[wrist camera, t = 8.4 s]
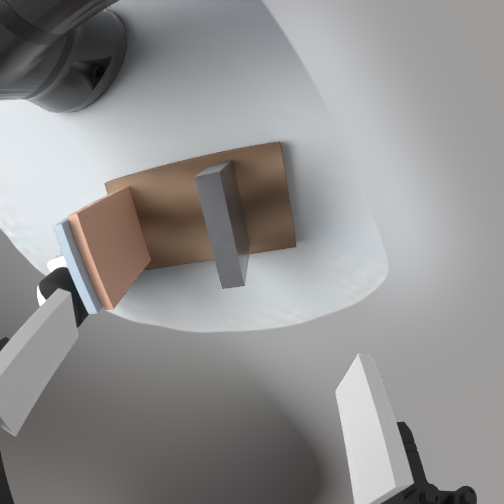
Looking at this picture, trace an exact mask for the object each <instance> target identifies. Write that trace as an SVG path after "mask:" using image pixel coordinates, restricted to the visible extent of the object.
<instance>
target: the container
mask: <svg viewBox="0 0 504 504" xmlns="http://www.w3.org/2000/svg"><path fill="white" fill-rule="evenodd" d="M47 265H48V268H49V270H50V272H51V273H50V274H49V275H48V276H46V277H45V278H44V279H43V280H42V281H41V282H40V283H39V285H38V289H37V296H38V301H39V304H40V306H41V305H42V304H43V303H44V302H45V301H46V300H47V299H48V298H49V297H50V296H51V295H52V294H53V293H54V292H55V291H56V290H57V289H58V288H59V289H62V290H65V291H68V292H71V297H72V303H73V309H74V315H75V321H76V326H77V328H78V327H79V326H80V325H81V323H82V322H83V321H84V319H85V318H86V317H87V316H88V315H89V314H88V312H87V310H86V308H85V305H84V303H83V301H82V299H81V297H80V295H79V293H78V290H77V288H76V286H75V283H74V281H73V279H72V276H71V274H70V272H69V269H68V267H67V264H66V262H65V259H64V257H63V254H62V252H61V253H60V254H58V255H57V256H56V257H54V258H53V259H52V260H50V261H49V262H48V263H47ZM101 309H103V307H102V308H101Z"/></svg>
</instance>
